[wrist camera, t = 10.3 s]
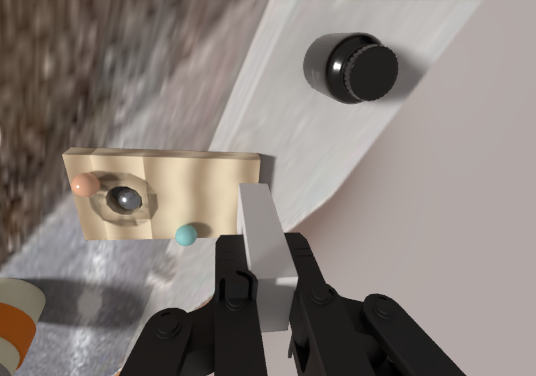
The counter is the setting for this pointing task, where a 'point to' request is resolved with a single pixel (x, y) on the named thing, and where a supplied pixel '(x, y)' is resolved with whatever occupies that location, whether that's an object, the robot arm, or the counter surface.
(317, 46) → the supplement bottle
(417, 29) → the counter surface
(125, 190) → the steel ball
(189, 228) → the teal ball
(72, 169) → the maple board
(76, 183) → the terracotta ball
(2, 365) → the reusable coffee cup
